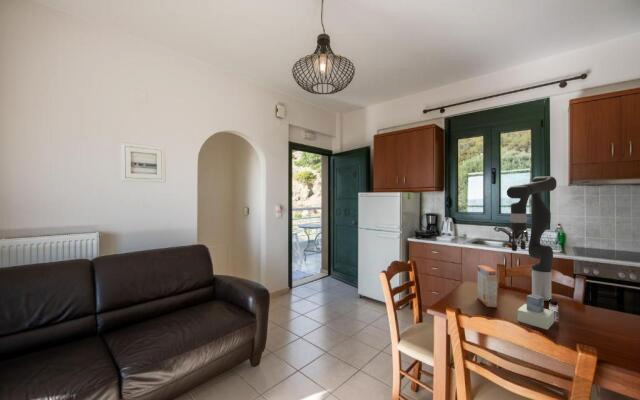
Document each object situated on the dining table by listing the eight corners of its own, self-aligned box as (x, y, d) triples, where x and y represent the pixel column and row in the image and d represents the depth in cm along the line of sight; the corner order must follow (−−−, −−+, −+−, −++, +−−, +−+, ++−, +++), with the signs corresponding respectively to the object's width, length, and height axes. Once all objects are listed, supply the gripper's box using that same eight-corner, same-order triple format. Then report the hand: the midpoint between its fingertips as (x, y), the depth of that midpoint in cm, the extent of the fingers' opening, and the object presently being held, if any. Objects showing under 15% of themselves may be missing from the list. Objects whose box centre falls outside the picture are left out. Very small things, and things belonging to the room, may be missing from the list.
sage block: (525, 314, 145) (525, 303, 144) (554, 322, 135) (554, 311, 135) (517, 321, 137) (517, 309, 137) (547, 330, 128) (547, 317, 128)
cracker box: (498, 308, 153) (497, 271, 153) (486, 307, 154) (486, 271, 154) (487, 298, 167) (487, 265, 166) (477, 298, 168) (477, 264, 168)
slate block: (532, 307, 139) (532, 294, 139) (543, 311, 135) (543, 297, 135) (526, 309, 138) (526, 295, 137) (537, 313, 133) (537, 299, 133)
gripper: (518, 220, 158) (518, 247, 158) (503, 221, 152) (504, 250, 152) (533, 221, 151) (533, 249, 151) (518, 222, 145) (518, 252, 145)
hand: (518, 250), depth 152 cm, fingers open, 8 cm apart
